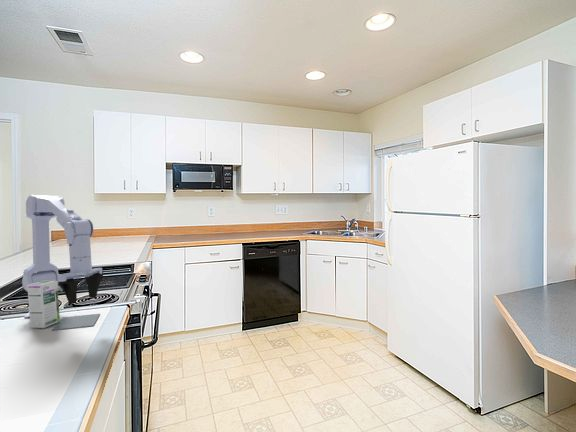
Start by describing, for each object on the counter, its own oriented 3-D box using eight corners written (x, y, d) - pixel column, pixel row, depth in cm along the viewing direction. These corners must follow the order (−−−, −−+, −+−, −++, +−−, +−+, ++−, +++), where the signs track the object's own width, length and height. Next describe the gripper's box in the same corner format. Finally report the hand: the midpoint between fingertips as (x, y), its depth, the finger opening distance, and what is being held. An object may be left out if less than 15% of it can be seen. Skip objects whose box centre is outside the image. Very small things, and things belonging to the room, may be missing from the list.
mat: (62, 318, 112) (62, 317, 112) (99, 314, 116) (99, 313, 116) (52, 330, 101) (52, 329, 101) (93, 326, 105) (93, 325, 105)
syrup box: (44, 328, 101) (41, 284, 101) (29, 327, 103) (27, 283, 102) (60, 322, 107) (58, 280, 107) (46, 321, 108) (43, 279, 108)
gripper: (70, 259, 92) (73, 306, 91) (108, 254, 106) (111, 294, 106) (51, 260, 93) (53, 306, 93) (91, 255, 107) (93, 295, 107)
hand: (83, 300), depth 99 cm, fingers open, 7 cm apart
